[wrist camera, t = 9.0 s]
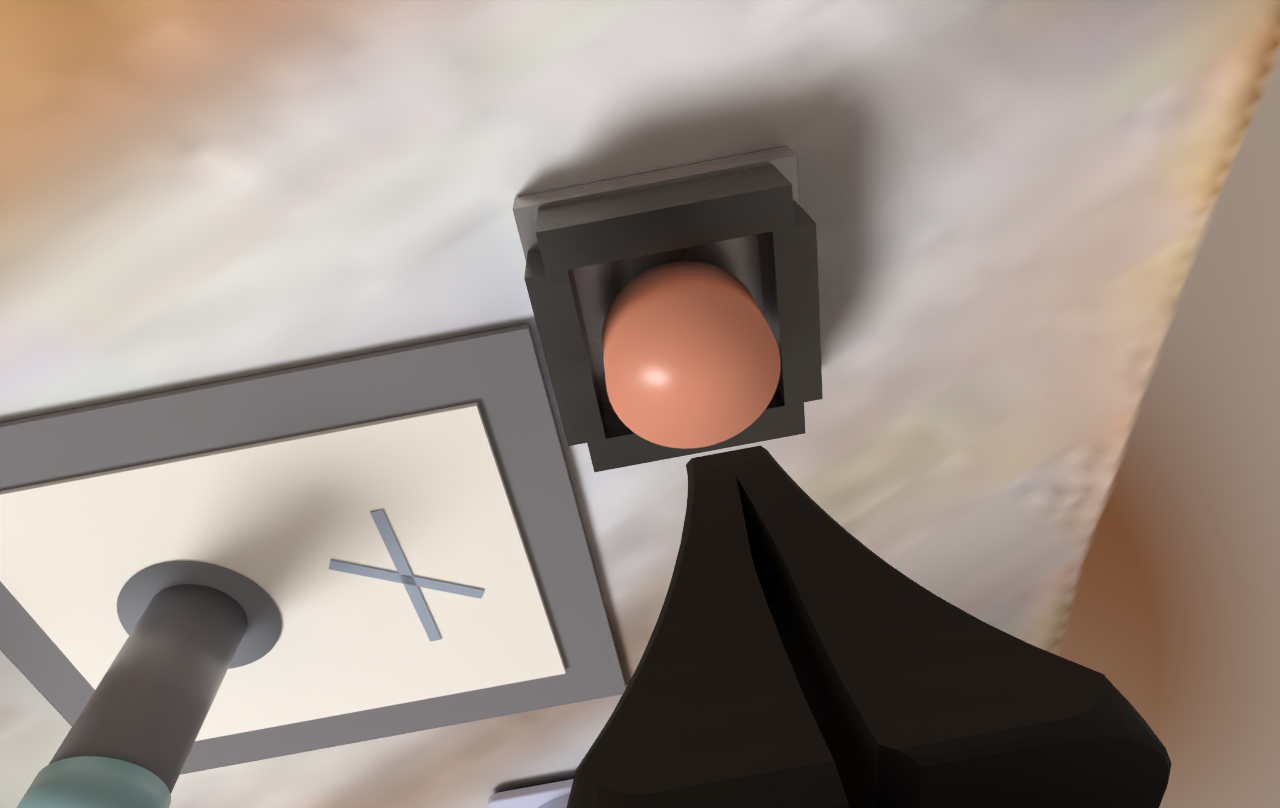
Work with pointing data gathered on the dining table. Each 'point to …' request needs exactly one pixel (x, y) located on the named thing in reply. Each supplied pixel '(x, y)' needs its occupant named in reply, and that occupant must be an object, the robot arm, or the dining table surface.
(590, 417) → the button base
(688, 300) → the button
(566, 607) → the grey framed board
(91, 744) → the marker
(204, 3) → the dining table surface
